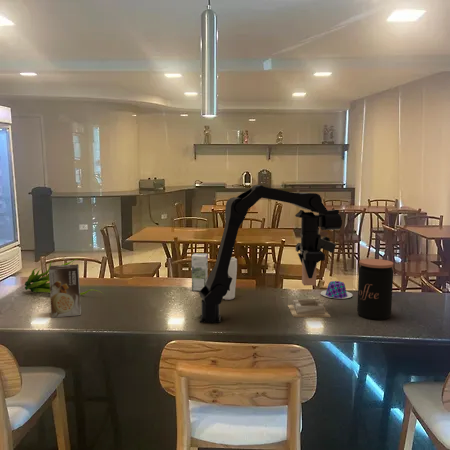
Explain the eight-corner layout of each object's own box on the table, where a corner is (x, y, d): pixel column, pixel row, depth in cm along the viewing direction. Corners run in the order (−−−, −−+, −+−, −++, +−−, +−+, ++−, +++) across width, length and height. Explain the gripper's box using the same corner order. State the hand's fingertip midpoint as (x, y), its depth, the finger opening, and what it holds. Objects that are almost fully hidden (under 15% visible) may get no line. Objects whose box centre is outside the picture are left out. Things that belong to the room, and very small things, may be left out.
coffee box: (81, 309, 149) (79, 263, 147) (80, 315, 143) (78, 267, 141) (52, 312, 147) (50, 265, 145) (50, 318, 140) (48, 269, 139)
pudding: (332, 290, 176) (332, 277, 176) (358, 296, 167) (359, 283, 167) (314, 295, 168) (314, 282, 168) (340, 302, 159) (341, 288, 159)
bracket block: (316, 285, 145) (316, 261, 144) (304, 285, 145) (304, 261, 144) (313, 282, 149) (314, 259, 148) (301, 282, 149) (302, 259, 148)
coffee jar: (350, 312, 147) (352, 259, 145) (376, 308, 151) (378, 257, 149) (371, 322, 137) (373, 266, 135) (398, 318, 141) (401, 263, 139)
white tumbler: (237, 295, 166) (237, 257, 165) (236, 301, 160) (236, 260, 158) (219, 295, 167) (219, 256, 165) (217, 300, 160) (217, 260, 158)
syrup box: (207, 287, 178) (207, 252, 176) (205, 291, 172) (205, 255, 170) (194, 287, 178) (193, 252, 177) (191, 291, 172) (191, 255, 171)
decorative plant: (57, 309, 150) (55, 267, 148) (23, 292, 170) (20, 255, 169) (104, 298, 163) (102, 260, 161) (66, 284, 183) (65, 249, 181)
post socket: (330, 317, 142) (330, 308, 142) (293, 317, 142) (293, 308, 141) (321, 306, 154) (321, 297, 153) (287, 306, 154) (287, 297, 153)
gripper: (341, 234, 135) (340, 283, 137) (327, 227, 154) (326, 270, 156) (306, 234, 135) (305, 283, 137) (295, 227, 154) (295, 270, 156)
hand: (308, 276), depth 146 cm, fingers closed on bracket block, 4 cm apart
